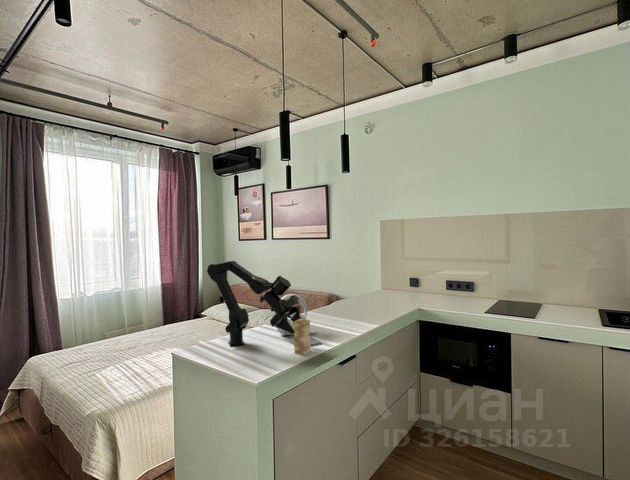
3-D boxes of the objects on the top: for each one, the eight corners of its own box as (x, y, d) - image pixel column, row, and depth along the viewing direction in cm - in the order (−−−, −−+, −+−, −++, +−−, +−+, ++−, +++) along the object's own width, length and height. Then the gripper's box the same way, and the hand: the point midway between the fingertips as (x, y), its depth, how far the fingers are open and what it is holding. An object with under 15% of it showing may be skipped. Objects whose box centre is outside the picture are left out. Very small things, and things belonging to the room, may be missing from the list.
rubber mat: (289, 341, 151) (289, 339, 151) (310, 337, 155) (310, 336, 155) (298, 348, 141) (298, 346, 141) (321, 344, 146) (321, 342, 146)
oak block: (294, 353, 135) (293, 321, 135) (299, 349, 139) (299, 319, 139) (305, 354, 133) (304, 322, 133) (310, 350, 137) (309, 319, 137)
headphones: (280, 340, 153) (279, 297, 153) (270, 335, 161) (269, 295, 162) (312, 332, 164) (311, 293, 164) (301, 328, 172) (300, 291, 173)
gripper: (275, 293, 130) (301, 323, 126) (296, 287, 147) (319, 312, 143) (259, 312, 133) (283, 341, 129) (282, 303, 151) (304, 329, 146)
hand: (299, 330), depth 137 cm, fingers open, 9 cm apart
